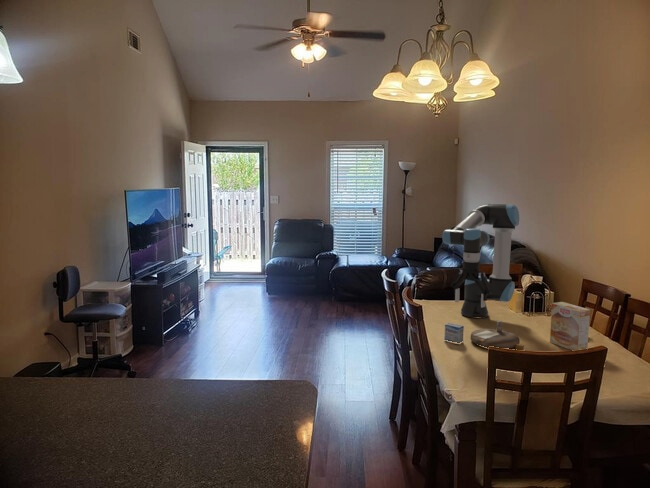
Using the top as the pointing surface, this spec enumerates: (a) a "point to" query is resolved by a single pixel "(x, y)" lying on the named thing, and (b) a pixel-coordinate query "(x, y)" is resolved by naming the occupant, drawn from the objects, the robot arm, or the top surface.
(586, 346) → the coffeecake box
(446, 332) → the medicine box
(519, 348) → the dial base
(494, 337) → the index dial
